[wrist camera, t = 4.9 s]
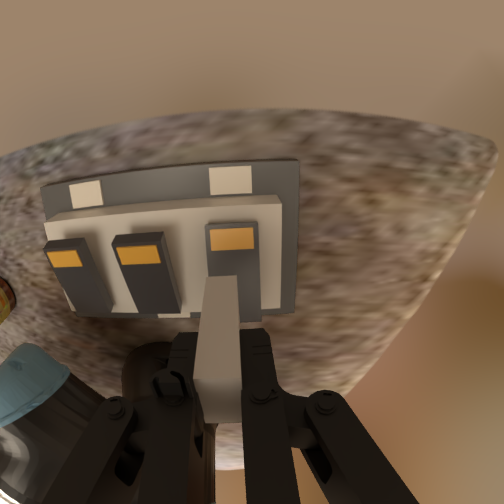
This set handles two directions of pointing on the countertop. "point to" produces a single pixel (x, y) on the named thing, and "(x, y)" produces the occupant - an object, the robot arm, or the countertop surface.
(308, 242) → the countertop surface
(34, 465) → the robot arm
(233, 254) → the rocker switch
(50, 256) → the rocker switch
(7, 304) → the sauce bottle
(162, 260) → the rocker switch
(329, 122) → the countertop surface
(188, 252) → the switch unit
